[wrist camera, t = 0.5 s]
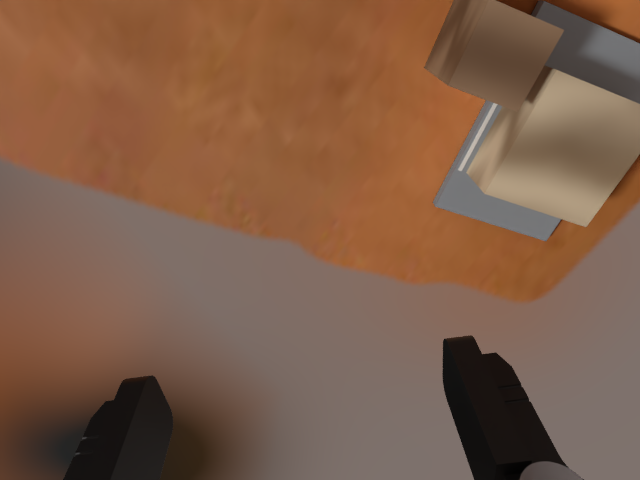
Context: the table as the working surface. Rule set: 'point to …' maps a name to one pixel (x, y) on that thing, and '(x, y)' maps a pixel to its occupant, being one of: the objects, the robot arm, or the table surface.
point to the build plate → (568, 57)
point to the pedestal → (559, 148)
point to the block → (492, 51)
